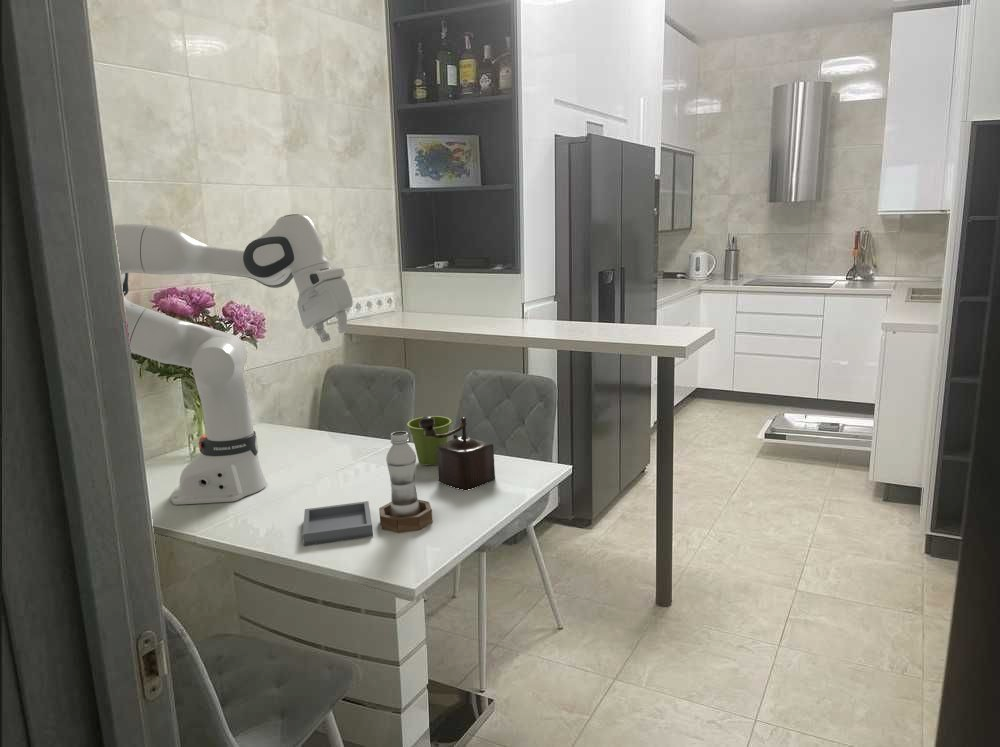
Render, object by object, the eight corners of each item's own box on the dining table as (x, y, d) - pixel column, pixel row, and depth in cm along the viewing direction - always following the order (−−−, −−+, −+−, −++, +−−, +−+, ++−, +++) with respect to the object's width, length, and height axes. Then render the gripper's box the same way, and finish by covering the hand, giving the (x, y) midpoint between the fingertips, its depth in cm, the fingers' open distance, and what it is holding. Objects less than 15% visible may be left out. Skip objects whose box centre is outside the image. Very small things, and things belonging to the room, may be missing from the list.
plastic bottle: (392, 529, 158) (385, 439, 154) (390, 517, 165) (382, 431, 160) (422, 525, 160) (416, 436, 155) (419, 513, 166) (412, 427, 162)
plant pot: (401, 464, 200) (397, 424, 198) (430, 452, 209) (428, 414, 207) (433, 472, 193) (430, 430, 191) (462, 459, 202) (460, 419, 200)
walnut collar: (382, 535, 156) (381, 521, 155) (379, 515, 166) (378, 502, 166) (434, 528, 158) (433, 514, 157) (427, 509, 168) (427, 496, 168)
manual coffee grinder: (466, 470, 193) (462, 403, 189) (496, 479, 185) (492, 409, 182) (420, 487, 182) (414, 417, 179) (450, 498, 175) (445, 424, 171)
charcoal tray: (304, 546, 152) (302, 534, 152) (305, 520, 166) (304, 509, 165) (373, 536, 155) (372, 524, 155) (369, 511, 169) (368, 501, 168)
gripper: (285, 296, 180) (305, 350, 180) (322, 271, 164) (343, 330, 165) (308, 290, 184) (327, 343, 184) (346, 266, 168) (366, 323, 169)
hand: (335, 337), depth 174 cm, fingers open, 8 cm apart
